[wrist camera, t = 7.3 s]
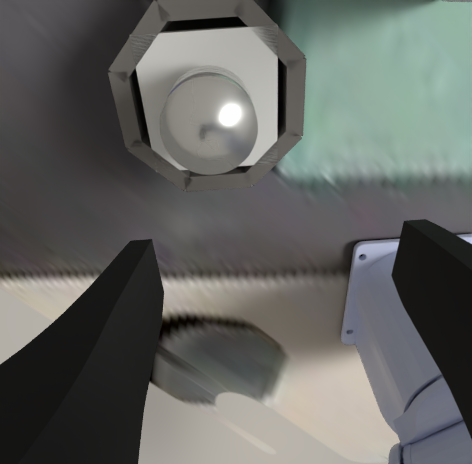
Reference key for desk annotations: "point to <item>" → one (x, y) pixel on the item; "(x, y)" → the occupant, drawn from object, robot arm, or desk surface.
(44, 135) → the desk surface
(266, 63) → the press
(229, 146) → the plunger
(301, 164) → the desk surface
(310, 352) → the desk surface
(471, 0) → the skincare box
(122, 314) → the robot arm
